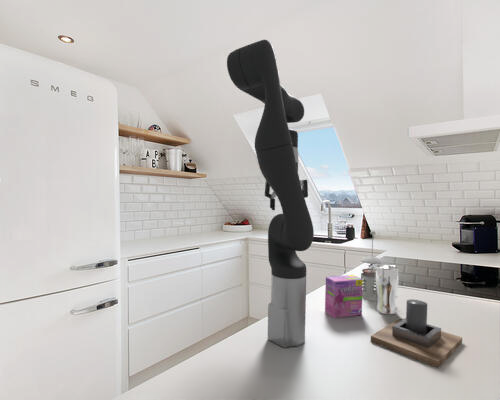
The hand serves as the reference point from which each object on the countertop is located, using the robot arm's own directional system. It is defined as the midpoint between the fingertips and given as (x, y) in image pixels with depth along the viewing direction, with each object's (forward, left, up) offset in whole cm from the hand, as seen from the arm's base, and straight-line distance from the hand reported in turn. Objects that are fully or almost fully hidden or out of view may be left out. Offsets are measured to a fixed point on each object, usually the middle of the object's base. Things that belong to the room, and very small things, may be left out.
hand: (285, 210), depth 102 cm
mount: (+10, -38, -33) cm, 51 cm away
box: (+12, -15, -33) cm, 39 cm away
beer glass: (+25, -23, -33) cm, 48 cm away
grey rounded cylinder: (+10, -38, -32) cm, 50 cm away
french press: (+35, -13, -33) cm, 50 cm away
